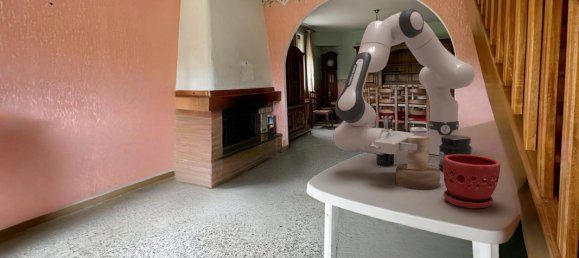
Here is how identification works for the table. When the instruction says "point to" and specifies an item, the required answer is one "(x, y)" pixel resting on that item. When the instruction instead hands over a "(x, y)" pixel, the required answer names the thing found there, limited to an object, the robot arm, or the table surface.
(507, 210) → the table surface
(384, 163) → the supplement bottle
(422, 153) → the ash block
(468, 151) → the supplement container
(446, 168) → the plant pot
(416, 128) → the syrup box
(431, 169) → the walnut plinth
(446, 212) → the table surface
